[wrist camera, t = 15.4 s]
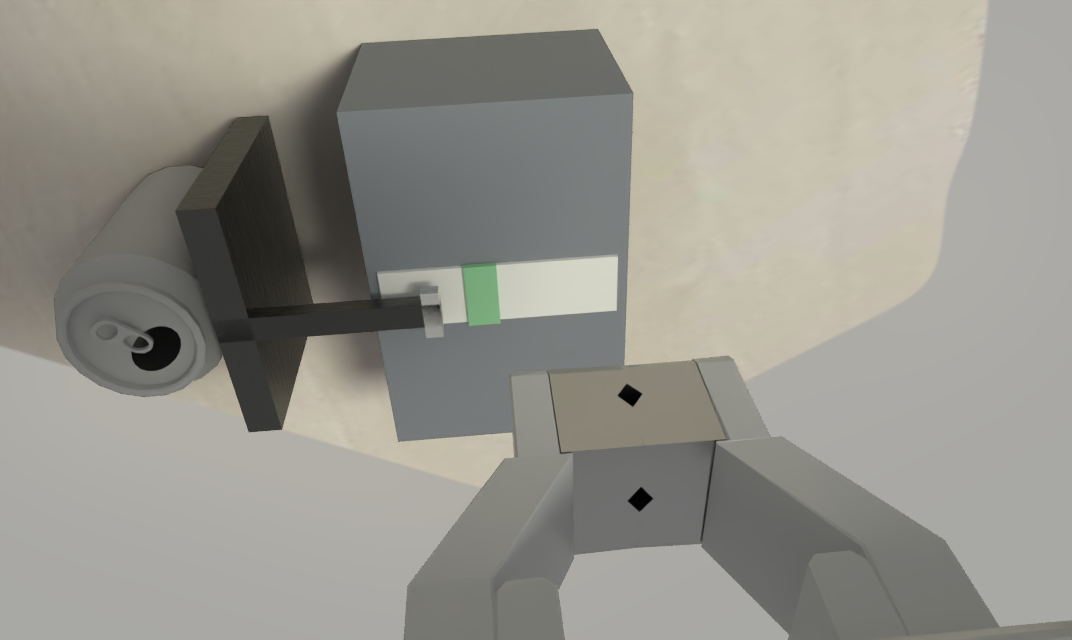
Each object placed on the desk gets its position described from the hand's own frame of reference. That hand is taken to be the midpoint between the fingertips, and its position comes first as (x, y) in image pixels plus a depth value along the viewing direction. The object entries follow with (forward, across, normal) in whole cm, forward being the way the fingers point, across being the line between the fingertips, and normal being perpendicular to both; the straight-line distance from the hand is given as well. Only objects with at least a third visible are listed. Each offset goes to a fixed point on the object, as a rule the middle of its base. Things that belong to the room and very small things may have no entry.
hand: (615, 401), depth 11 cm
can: (+33, +18, +13) cm, 40 cm away
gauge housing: (+33, +1, +13) cm, 35 cm away
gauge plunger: (+32, +9, +13) cm, 35 cm away
